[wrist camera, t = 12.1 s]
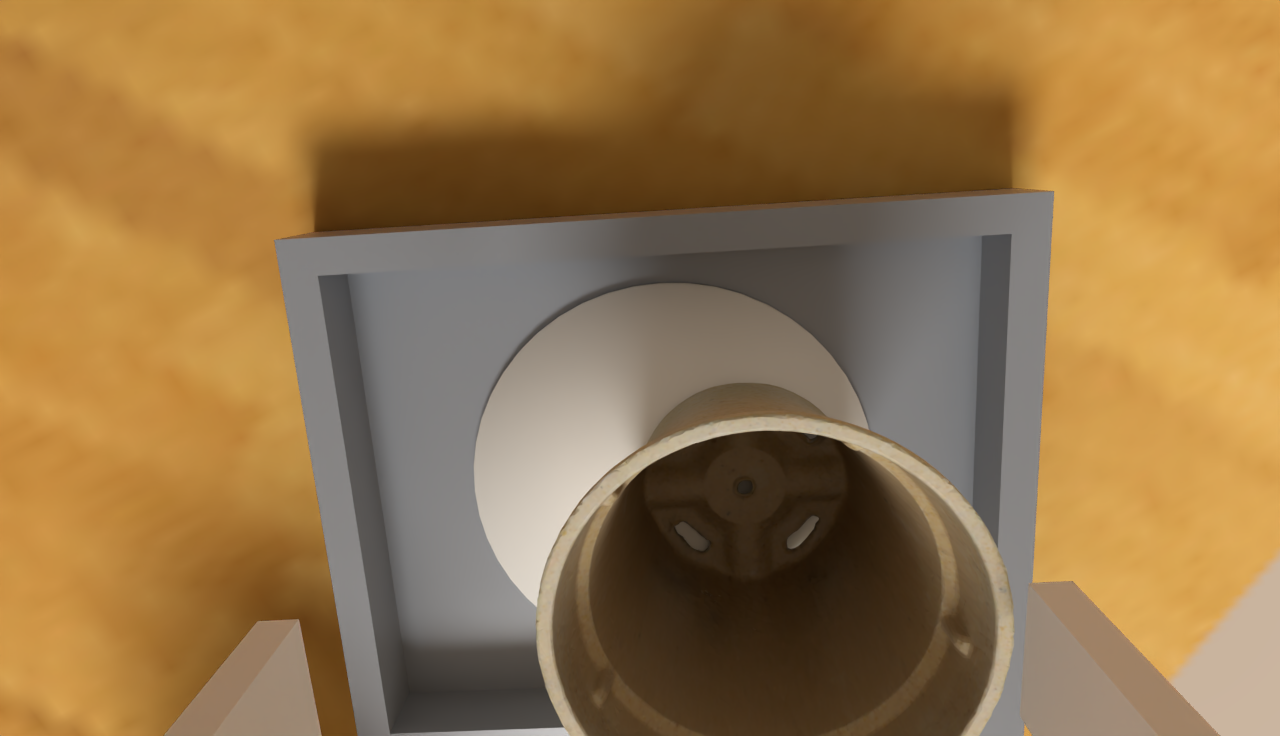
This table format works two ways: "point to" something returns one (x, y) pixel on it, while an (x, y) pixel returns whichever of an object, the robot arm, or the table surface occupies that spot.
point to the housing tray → (631, 400)
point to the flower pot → (773, 585)
